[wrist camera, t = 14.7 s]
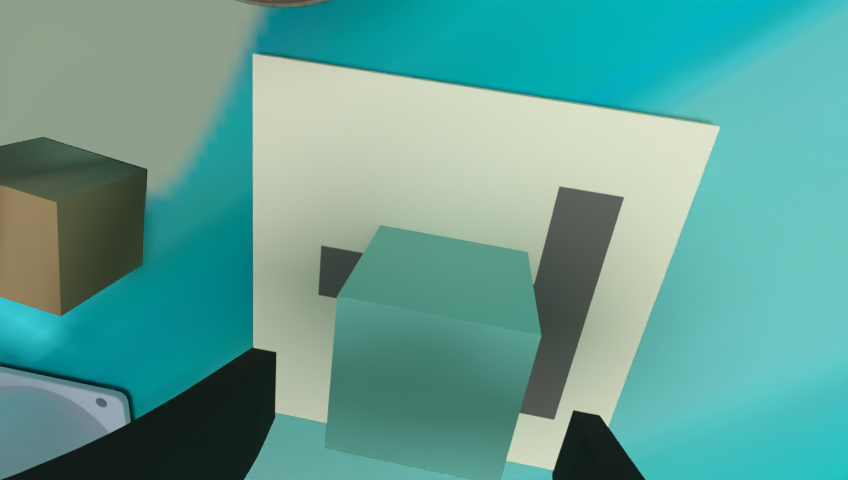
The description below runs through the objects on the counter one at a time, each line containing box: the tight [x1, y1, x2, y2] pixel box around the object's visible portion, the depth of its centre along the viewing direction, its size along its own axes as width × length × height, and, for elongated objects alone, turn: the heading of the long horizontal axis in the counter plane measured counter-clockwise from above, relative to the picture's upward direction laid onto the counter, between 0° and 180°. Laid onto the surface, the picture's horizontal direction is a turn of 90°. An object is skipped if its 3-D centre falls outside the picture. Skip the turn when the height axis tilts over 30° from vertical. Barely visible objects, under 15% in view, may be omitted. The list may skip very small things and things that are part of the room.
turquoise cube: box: [325, 225, 541, 480], centre depth 15 cm, size 5×5×5 cm
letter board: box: [253, 53, 720, 470], centre depth 17 cm, size 14×14×1 cm
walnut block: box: [0, 137, 147, 316], centre depth 17 cm, size 4×4×4 cm
